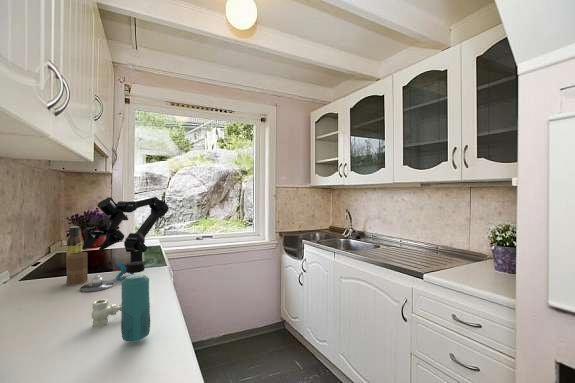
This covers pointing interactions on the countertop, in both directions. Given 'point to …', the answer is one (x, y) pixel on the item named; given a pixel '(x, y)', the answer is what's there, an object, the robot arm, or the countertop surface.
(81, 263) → the sleeve
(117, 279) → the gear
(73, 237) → the sauce bottle
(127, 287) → the beverage bottle
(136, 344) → the countertop surface
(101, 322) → the valve
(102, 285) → the hub
